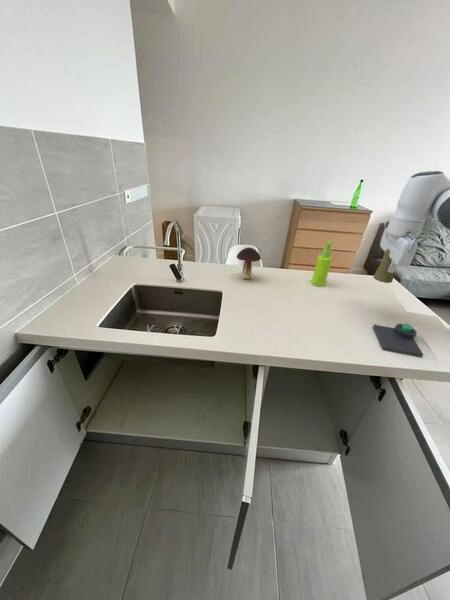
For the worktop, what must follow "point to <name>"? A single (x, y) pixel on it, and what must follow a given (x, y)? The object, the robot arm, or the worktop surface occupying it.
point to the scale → (397, 340)
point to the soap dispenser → (322, 266)
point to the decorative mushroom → (248, 260)
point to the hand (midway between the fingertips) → (387, 268)
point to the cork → (384, 269)
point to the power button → (407, 328)
